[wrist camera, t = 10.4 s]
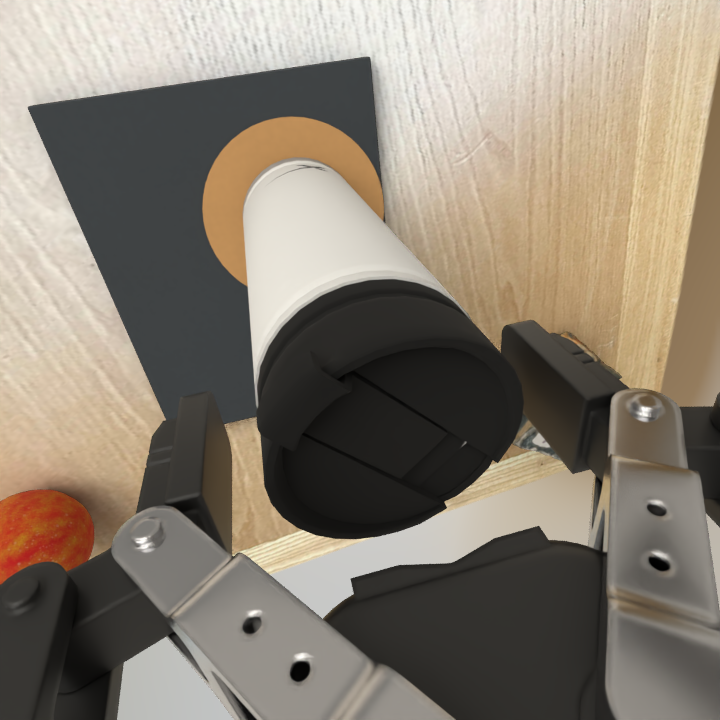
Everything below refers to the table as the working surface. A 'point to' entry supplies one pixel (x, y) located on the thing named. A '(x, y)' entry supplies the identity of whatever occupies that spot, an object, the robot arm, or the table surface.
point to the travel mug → (362, 364)
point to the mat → (200, 204)
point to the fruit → (43, 531)
